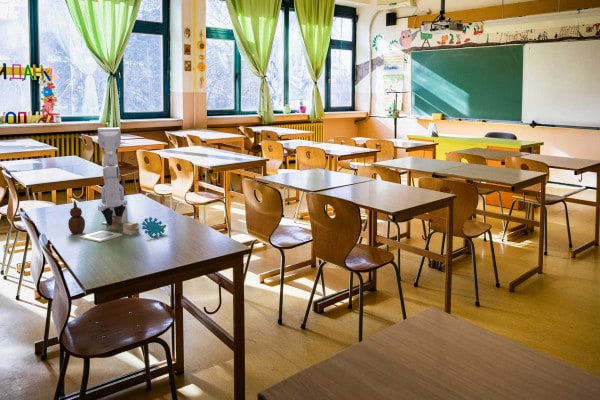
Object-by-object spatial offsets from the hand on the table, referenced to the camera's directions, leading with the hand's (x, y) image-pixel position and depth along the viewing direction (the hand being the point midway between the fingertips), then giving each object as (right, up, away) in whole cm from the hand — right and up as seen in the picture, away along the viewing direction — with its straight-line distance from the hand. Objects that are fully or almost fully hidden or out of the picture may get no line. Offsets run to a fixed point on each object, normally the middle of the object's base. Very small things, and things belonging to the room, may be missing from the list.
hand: (114, 223), depth 243 cm
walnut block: (0, -1, 0) cm, 2 cm away
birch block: (+8, -4, -2) cm, 9 cm away
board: (-3, -5, -8) cm, 10 cm away
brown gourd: (-15, -4, -3) cm, 16 cm away
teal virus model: (+19, -5, -5) cm, 21 cm away
